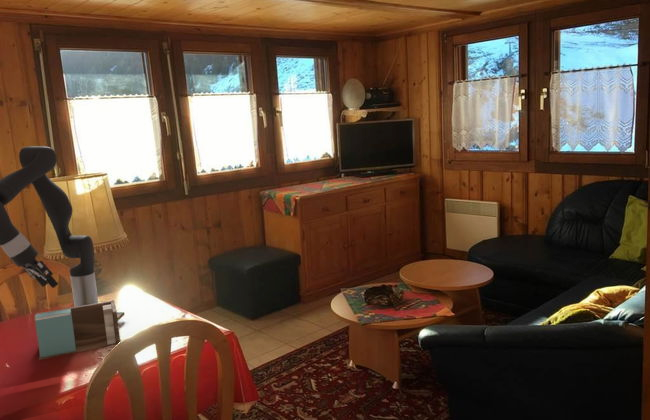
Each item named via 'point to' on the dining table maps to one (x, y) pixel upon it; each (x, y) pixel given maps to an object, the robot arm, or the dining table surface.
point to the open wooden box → (93, 326)
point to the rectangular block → (55, 333)
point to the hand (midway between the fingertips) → (50, 285)
